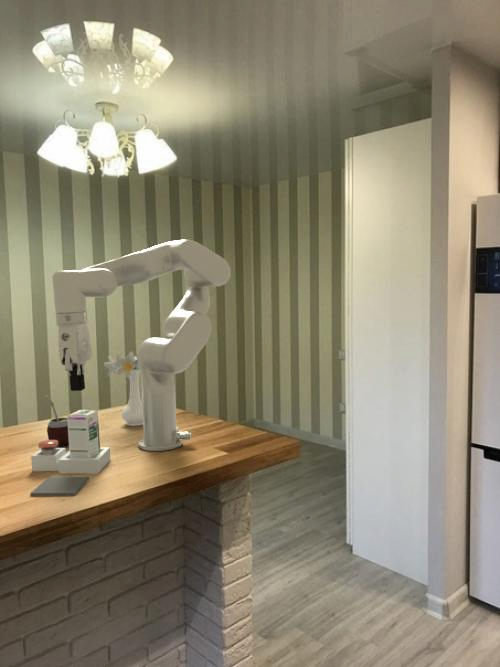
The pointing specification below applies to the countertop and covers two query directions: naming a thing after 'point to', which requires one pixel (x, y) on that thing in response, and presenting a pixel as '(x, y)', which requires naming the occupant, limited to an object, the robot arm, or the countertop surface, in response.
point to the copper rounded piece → (48, 447)
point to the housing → (70, 462)
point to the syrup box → (83, 434)
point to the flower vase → (134, 406)
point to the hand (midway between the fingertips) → (78, 389)
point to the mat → (60, 486)
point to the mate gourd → (58, 429)
